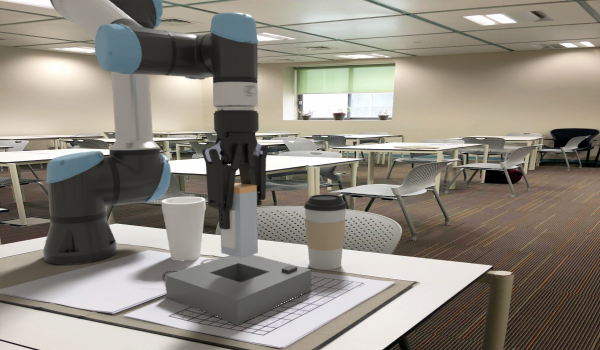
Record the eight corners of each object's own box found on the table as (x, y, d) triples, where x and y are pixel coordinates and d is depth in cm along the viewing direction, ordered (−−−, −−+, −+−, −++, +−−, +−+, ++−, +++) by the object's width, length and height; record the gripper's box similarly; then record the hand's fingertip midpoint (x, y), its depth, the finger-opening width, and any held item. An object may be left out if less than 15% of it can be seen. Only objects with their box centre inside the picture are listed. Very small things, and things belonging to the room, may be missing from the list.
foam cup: (161, 253, 108) (159, 198, 107) (201, 249, 112) (200, 195, 110) (167, 265, 99) (165, 205, 98) (210, 260, 103) (209, 202, 101)
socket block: (166, 297, 82) (165, 271, 81) (241, 270, 96) (240, 249, 95) (238, 325, 71) (237, 296, 70) (310, 290, 84) (310, 266, 84)
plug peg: (221, 253, 82) (219, 185, 81) (238, 248, 85) (236, 182, 84) (241, 258, 79) (239, 187, 78) (257, 252, 82) (256, 185, 81)
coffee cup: (297, 268, 97) (297, 197, 95) (312, 256, 106) (312, 190, 104) (339, 273, 94) (339, 199, 92) (351, 260, 102) (352, 193, 100)
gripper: (211, 108, 70) (216, 259, 73) (285, 109, 83) (287, 237, 86) (180, 109, 75) (186, 251, 78) (255, 110, 88) (257, 231, 91)
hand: (239, 243), depth 82 cm, fingers closed on plug peg, 4 cm apart
